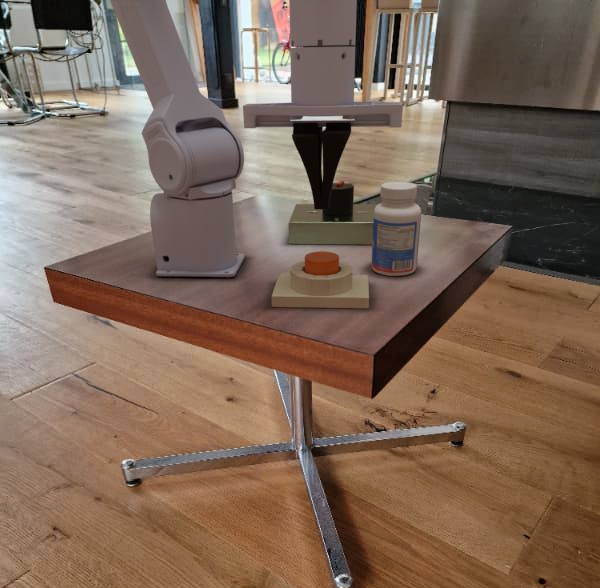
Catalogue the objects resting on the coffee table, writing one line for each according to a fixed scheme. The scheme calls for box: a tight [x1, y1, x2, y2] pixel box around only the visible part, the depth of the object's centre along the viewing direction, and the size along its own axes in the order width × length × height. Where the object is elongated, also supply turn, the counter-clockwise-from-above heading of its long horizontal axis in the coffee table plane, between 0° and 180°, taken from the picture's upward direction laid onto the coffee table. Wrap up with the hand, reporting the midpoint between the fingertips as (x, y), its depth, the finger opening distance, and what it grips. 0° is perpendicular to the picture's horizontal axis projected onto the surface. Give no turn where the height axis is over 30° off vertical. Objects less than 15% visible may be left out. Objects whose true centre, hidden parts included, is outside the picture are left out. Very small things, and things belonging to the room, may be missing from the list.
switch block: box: [271, 260, 370, 309], centre depth 61 cm, size 10×7×3 cm
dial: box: [322, 180, 355, 216], centre depth 80 cm, size 4×4×4 cm
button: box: [304, 250, 340, 275], centre depth 60 cm, size 4×4×2 cm
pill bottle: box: [371, 181, 422, 277], centre depth 66 cm, size 6×5×10 cm
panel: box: [288, 203, 379, 246], centre depth 82 cm, size 13×11×3 cm
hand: (322, 207), depth 57 cm, fingers closed
